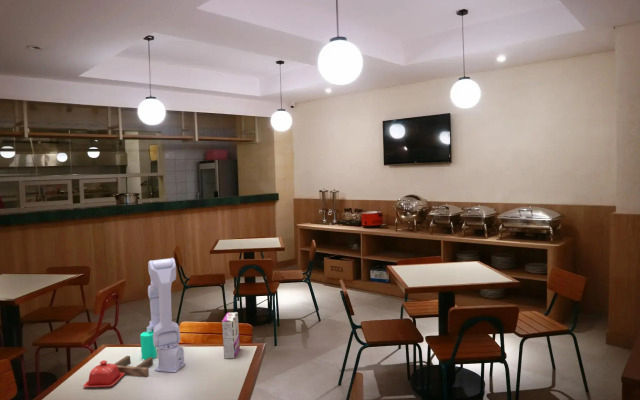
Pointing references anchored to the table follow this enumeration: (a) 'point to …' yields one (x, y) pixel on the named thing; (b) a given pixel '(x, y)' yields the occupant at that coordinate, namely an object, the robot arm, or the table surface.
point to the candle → (147, 345)
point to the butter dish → (103, 375)
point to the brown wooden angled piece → (134, 371)
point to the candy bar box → (230, 335)
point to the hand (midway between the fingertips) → (159, 342)
